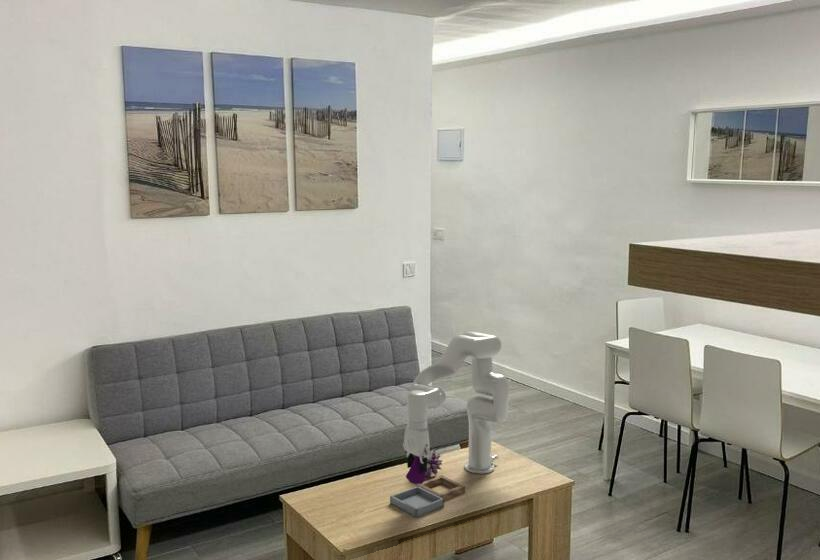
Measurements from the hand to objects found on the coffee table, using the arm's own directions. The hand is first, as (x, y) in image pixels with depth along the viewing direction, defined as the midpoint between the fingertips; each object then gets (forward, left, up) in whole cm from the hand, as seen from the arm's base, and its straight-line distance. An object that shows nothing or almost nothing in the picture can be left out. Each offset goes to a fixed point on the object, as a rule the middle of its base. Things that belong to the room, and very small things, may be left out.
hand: (417, 469), depth 279 cm
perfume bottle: (0, 0, -5) cm, 5 cm away
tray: (0, 0, -14) cm, 14 cm away
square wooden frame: (-15, -3, -14) cm, 21 cm away
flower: (-21, -17, -15) cm, 31 cm away
